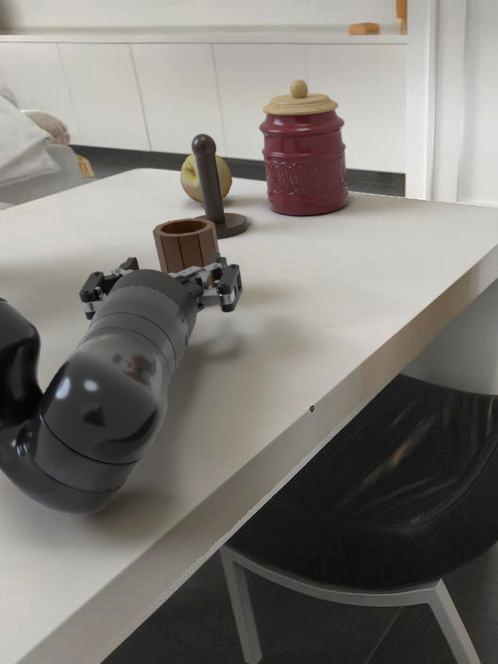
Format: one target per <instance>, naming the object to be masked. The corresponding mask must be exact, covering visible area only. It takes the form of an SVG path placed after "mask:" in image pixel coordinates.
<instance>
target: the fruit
mask: <svg viewBox="0 0 498 664" xmlns="http://www.w3.org/2000/svg"><path fill="white" fill-rule="evenodd" d="M215 155H216V162H217V168H218V174H219V181H220V187H221V194H222V200H223V199H225V198H227V196H228V195H229V193H230V190H231V188H232V185H233V177H232V173H231V170H230V167H229V165H228V164H227V162H226V160H224V159H223V158H222V157H220V156H219V155H217V153H216V154H215ZM180 169H181V170H180V175H179V176H180V178H179V181H180V184H181V187H182V189H183V191H184V192H185V194H186V195H187V196H188V197H189V198H190V199H191V200H193V201H195V202H197V203H200V204H203V198H202V193H201V187H200V181H199V175H198V170H197V164H196V158H195V155H194V154H193V153H192V154H190V155H188V156H187V157H186V158H185V160H184V162H183V163H182V165H181V168H180ZM203 205H204V204H203Z"/></svg>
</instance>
